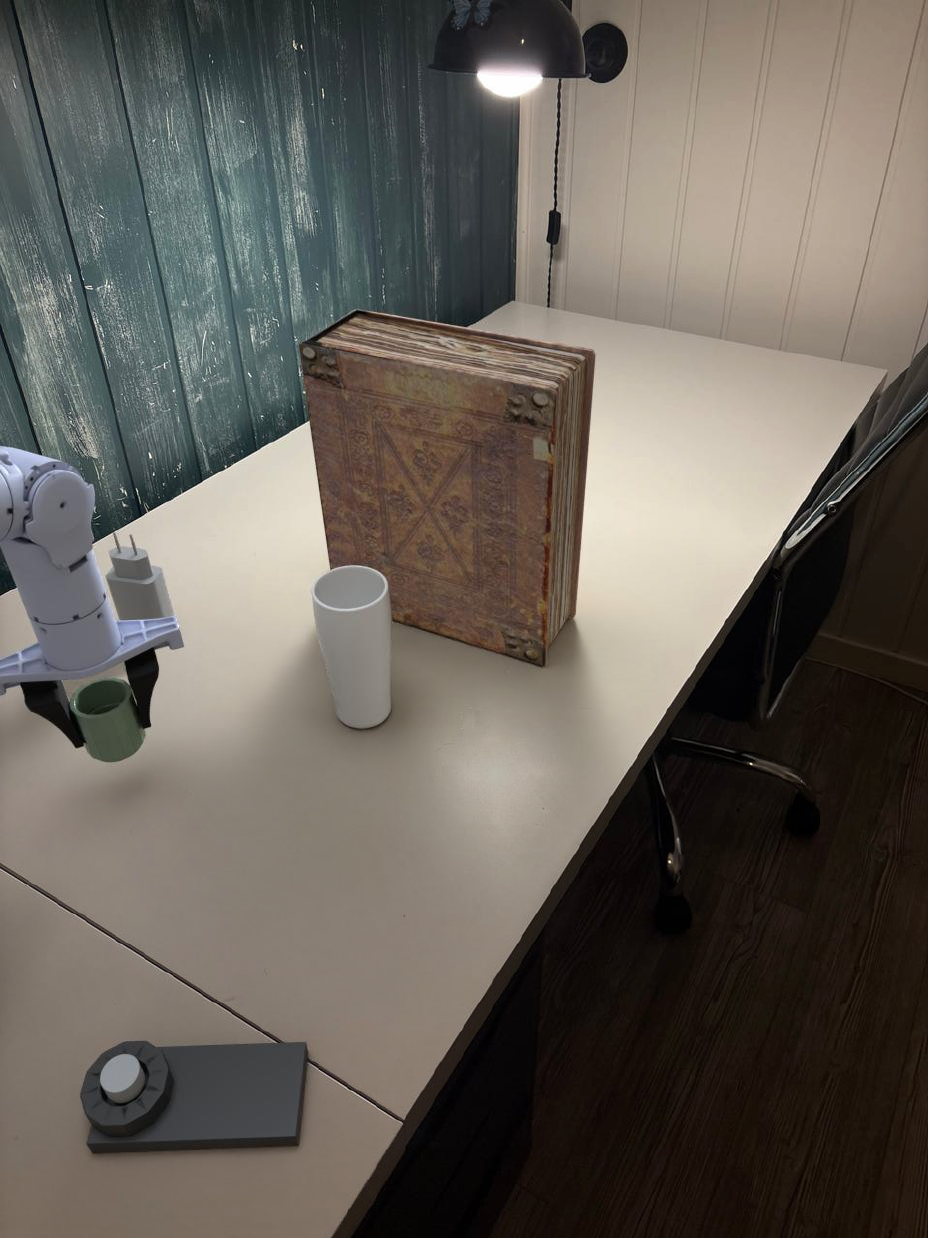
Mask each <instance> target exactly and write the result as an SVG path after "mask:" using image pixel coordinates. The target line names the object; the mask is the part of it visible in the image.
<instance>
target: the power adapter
mask: <svg viewBox="0 0 928 1238" xmlns="http://www.w3.org/2000/svg"><path fill="white" fill-rule="evenodd" d="M112 535H113V539H114V541H115V546H116V547H115V548H112V549H109V550H108V555H109V558H110V561H111V564H112V567H111V568H110V569H109V570H108V571H107V573H106V574H105V581H106V583H107V586H108V590H109V592H110V596H111V598H112V602H113V605H114V608H115V611H116V615H117V617H118V621H125V620H146V619H159V618H166V617H170V616H176V614H175V611H174V608H173V604H172V599H171V596H170V593H169V592H170V591H169V589H168V586H167V585H168V584H167V582H166V577H165V575H164V570H163V568H162V567H161V566H156V565H152V564H151V560H150V557H149V554H148V552H147V551H148V550H146V549H145V548H139V547H137V545H136V542H135V540H134V537H133V534H131V533H130V534H129V535H128V536H129V538H130V542H131V546H132V547H131V546H121V545H120V542H119V539H118V536H117V532H115V531H113V532H112Z"/></svg>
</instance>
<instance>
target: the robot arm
mask: <svg viewBox="0 0 928 1238" xmlns="http://www.w3.org/2000/svg"><path fill="white" fill-rule="evenodd" d="M95 496H96V494H95V488H94V484H93V483H88V482H86V481H85V480H84V478H83V476H82V475H81V473H80V472H79V471H78V469H77V468H76V467H75V466H72V465H70V463H68V462H65V461H62V460H59V459H54V458H53V457H48V456H44V455H41V454H37V453H34V452H30V451H27V450H23V449H20V448H16V447H11V446H9V447H8V446H4V445H2V446H1V445H0V549H1V551H2V554H3V556H4V559H5V561H6V564H7V567H8V570H9V572H10V574H11V576H12V579H13V582H14V584H15V586H16V589H17V591H18V594H19V597H20V599H21V601H22V604H23V607H24V609H25V612H26V615H27V617H28V619H29V622H30V625H31V627H32V630H33V632H34V635H35V638H36V639H37V642H34V643H32V644H30V645H28V646H26V647H24V648H21V649H19V650H17V651H15V652H13V653H10V654H8V655H6V656H3V657H1V658H0V697H1V696H5V695H6V694H7V689H12V688H16V687H18V686H19V687H20V688H21V691H22V694H23V700H24V704H25V706H26V708H27V709H28V710H29V712H31V713H33V714H35V715H38V716H40V717H42V718H43V719H45V720H47V721H48V722H50V724H52V725H53V726H54V727H56V728H57V729H58V730H60V731H61V733H62V734H63V735H64V736H65V737H66V738H67V739H68V740H69V741H70V743H71V744H72V745H73V746H74V748H75V749H80V748H83V747H85V745H84V742H83V740H82V737H81V735H80V732H79V730H78V727H77V725H76V722H75V720H74V717H73V715H72V712H71V710H70V700H69V698H68V695H67V692H66V689H65V687H64V684H63V681H70V680H72V681H73V680H82V679H87V678H88V679H89V678H92V677H94V676H97V675H100V674H102V673H104V672H106V671H108V670H110V669H112V668H114V667H116V666H118V665H120V664H122V663H124V668H125V672H126V678H127V681H128V684H129V685H130V686H131V689H132V692H133V695H134V698H135V701H136V704H137V708H138V712H139V717H140V722H141V725H142V728H143V729H145V730H146V729H150V728H152V723H151V705H152V704H151V702H152V698H153V693H154V689H155V686H156V684H157V681H158V679H159V676H160V675H159V674H160V665H159V664H160V663H159V661H158V657H157V653H156V650H159V649H163V648H167V647H169V649H170V650H171V651H172V650H173V651H175V650H178V649H182V648H184V647H185V644H184V643H185V642H184V640H183V635H182V632H181V628H180V625H179V623H178V619H177V616H176V615H175V616H170V617H166V618H159V619H146V620H125V621H120V620H116V617H115V614H114V611H113V608H112V604H111V602H110V598H109V595H108V592H107V589H106V586H105V582H104V579H103V577H102V573H101V570H100V567H99V564H98V560H97V557H96V555H95V551H94V549H93V548H94V545H93V542H95V537H94V534H93V530H92V517H93V515H94V510H95V506H96V505H95V504H96V497H95Z"/></svg>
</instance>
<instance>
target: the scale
mask: <svg viewBox="0 0 928 1238" xmlns="http://www.w3.org/2000/svg"><path fill="white" fill-rule="evenodd" d="M122 1054H129V1055H132V1056H134V1057H135V1058H136V1059H137V1060H138V1062H139V1064H140V1066H141V1068H142V1070H143V1072H144V1074H145V1084H144V1087H143V1089H142V1091H141V1092H140V1093H139V1095H138V1096H137V1097H135V1098H134V1099H133V1100H131V1101H129V1102H126V1103H115V1102H113V1101H111V1100H110V1099H109V1098H108V1096H107V1094H106V1093H105V1091H104V1089H103V1087H102V1086H101V1082H100V1076H101V1072H102V1070H103V1068H104V1066H105V1065H106V1064H107V1063H108V1062H109V1061H110V1060H111V1059H112V1058H114V1057H116V1056H118V1055H122ZM308 1060H309V1047H308V1044H307V1041H289V1042H288V1041H287V1042H261V1043H259V1042H258V1043H233V1044H232V1043H231V1044H205V1045H203V1044H201V1045H175V1046H156V1045H154V1044H153V1043H151V1042H150V1041H148V1040H129V1041H128V1040H126V1041H122V1042H121V1043H118V1044H116V1045H115V1046H112V1047H111V1048H109V1049H107V1050H105V1051H104V1052H101V1054H100V1055H99V1056H98V1057H97V1058H96V1059H95V1061H94V1062H93V1063H92V1064H91V1066H90V1067H89V1068H88V1069H87V1071H86V1072H85V1076H84V1079H83V1082H82V1085H81V1089H80V1092H79V1098H80V1101H81V1105H82V1108H83V1113H84V1116H85V1117H86V1118H87V1120H88V1122H89V1123H90V1125H91V1126H90V1129H89V1133H88V1136H87V1140H86V1143H85V1144H86V1146H87V1147H88V1149H89V1150H90V1152H91V1153H92V1154H103V1153H106V1154H107V1153H134V1152H158V1151H159V1152H161V1151H185V1150H186V1151H188V1150H217V1149H238V1148H239V1149H241V1148H242V1149H243V1148H246V1149H247V1148H267V1147H268V1148H269V1147H270V1148H271V1147H272V1148H273V1147H297V1146H299V1145H300V1138H301V1137H300V1136H301V1128H302V1127H301V1126H302V1119H303V1118H302V1117H303V1109H304V1100H305V1099H304V1098H305V1090H306V1089H305V1088H306V1081H307V1070H308V1062H309V1061H308Z"/></svg>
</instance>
